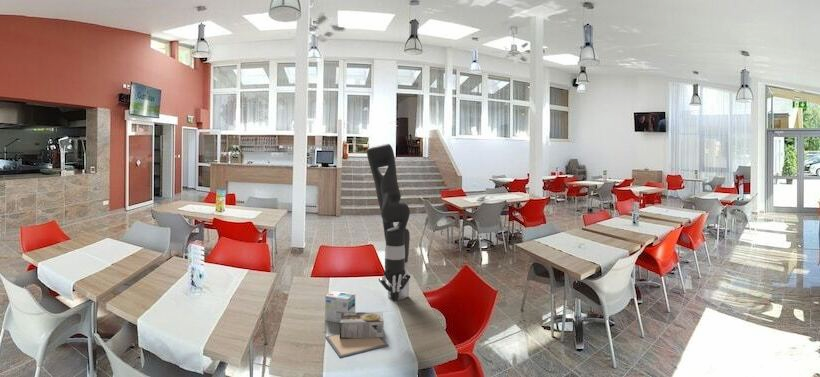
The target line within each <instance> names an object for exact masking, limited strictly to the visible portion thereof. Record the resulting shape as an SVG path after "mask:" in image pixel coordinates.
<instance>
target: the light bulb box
mask: <svg viewBox="0 0 820 377" xmlns="http://www.w3.org/2000/svg"><path fill="white" fill-rule="evenodd" d="M324 299H325V303H324V304H325V305H324V306H325V307H324V308H325V315H324V316H325V321H326V322H332V323H336V324H340V320H341V313H356V293H352V292H342V291H337V290H332V291H330V292H329V293H328V294H326V295H325V296H324Z"/></svg>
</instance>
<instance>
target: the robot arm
mask: <svg viewBox="0 0 820 377" xmlns="http://www.w3.org/2000/svg"><path fill="white" fill-rule="evenodd" d="M366 156H367V160H368V165H369V168H370V171H371V174H372V178H373V182H374V186H375V187H374V188H375V191H376V192H375V193H376V198H377V201H378V207H379V210H380V215H381V219H382V226H383V227H382V228H383V234H384V241H385V248H384V273H383V276H382V277H380V278H378V282H380V285H382V286H383V288H384V290H386V291H387V297H388V298H389V299H390V300H391V301H392V302H398V301H399V300H404V299H406V298H408V296H409V297H410V279H411V275H409V273H408V269H409V268H408V267H409V266H408V265H409V262H408V261H409V260H408V259H409V254H410V253H409V252H410V236H411V234H410V231H409V229H408V228H407V225H408V222H409V218H410V215H411V211H410V207H409V205H408V204H407V203H405V202H401V203H400V201H401V199H402V198H401V197H402V196H401V195H402V194H401V191H400V186H399V183H398V177H397V175H398V174H397V165H396V158H395V153H394V150H393V147H392V145H391V144H390V143H383V144H380V145H378V144H377V145H374V146H371V147H370V146H369V147H368V148H367V149H366ZM384 167H387V168H386V171H385V173H384V175H383V174H382V172H381V171H380V170H379V168H384ZM394 223H397V224H396V225H394Z"/></svg>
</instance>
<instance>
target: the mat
mask: <svg viewBox="0 0 820 377" xmlns="http://www.w3.org/2000/svg"><path fill="white" fill-rule="evenodd" d="M325 338H326V341H327V342H328V343H329V345H330V346H331V347H332V349H333V351H334V352H335V353H336V354H337V356H338V358H340V359H342V358H346V357H350V356H353V355H358V354H361V353H365V352H370V351H373V350H378V349H380V348H386V347H388V346H389V343H387V342H386V341H385V340H384V339H383V337H378V338H341V339H340V333H337V334H331V335H327V336H325Z"/></svg>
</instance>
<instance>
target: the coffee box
mask: <svg viewBox="0 0 820 377" xmlns="http://www.w3.org/2000/svg"><path fill="white" fill-rule="evenodd" d="M384 322H385V321H384V312H383V311H369V312H368V311H366V312H365V311H362V312H355V313H341V320H340V323H339V334H340V339H341V338H378V337H381V338H384V328H385V327H384Z"/></svg>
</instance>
